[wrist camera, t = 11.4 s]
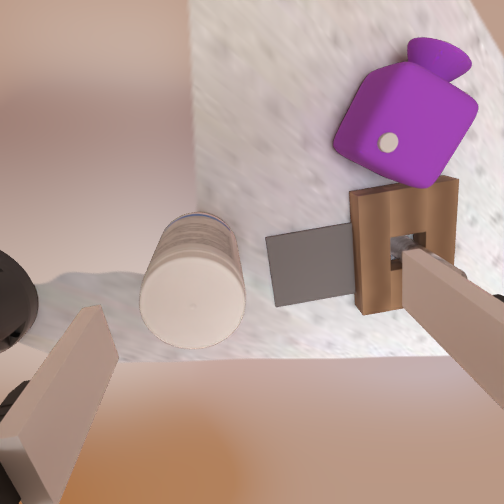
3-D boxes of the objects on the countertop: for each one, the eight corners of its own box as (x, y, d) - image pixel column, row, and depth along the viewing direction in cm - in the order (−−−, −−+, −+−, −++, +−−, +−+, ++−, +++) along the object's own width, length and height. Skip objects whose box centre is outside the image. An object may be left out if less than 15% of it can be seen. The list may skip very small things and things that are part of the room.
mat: (275, 305, 48) (276, 307, 48) (265, 237, 45) (265, 238, 44) (361, 290, 49) (362, 291, 48) (358, 221, 45) (359, 222, 45)
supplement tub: (145, 234, 43) (111, 288, 30) (212, 195, 42) (209, 232, 29) (188, 295, 47) (176, 368, 33) (251, 260, 46) (265, 320, 32)
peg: (385, 256, 47) (437, 299, 36) (385, 235, 46) (438, 272, 35) (407, 252, 47) (466, 293, 36) (407, 231, 46) (468, 267, 35)
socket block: (355, 304, 49) (363, 315, 47) (349, 191, 44) (358, 196, 41) (438, 289, 50) (451, 299, 47) (443, 175, 44) (459, 179, 41)
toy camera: (451, 61, 39) (523, 44, 30) (404, 182, 44) (454, 199, 35) (362, 33, 38) (409, 4, 28) (323, 161, 42) (352, 173, 33)
